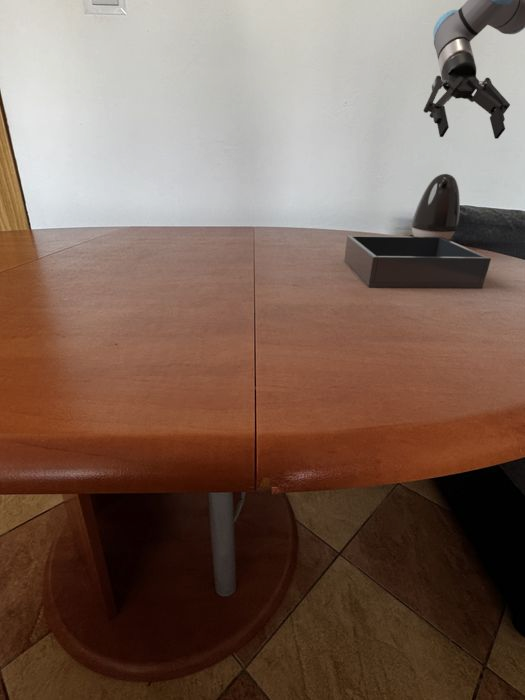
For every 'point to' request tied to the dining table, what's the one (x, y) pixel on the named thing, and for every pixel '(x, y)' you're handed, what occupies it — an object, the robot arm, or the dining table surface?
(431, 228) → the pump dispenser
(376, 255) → the dark brown tray
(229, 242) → the dining table surface
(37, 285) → the dining table surface
